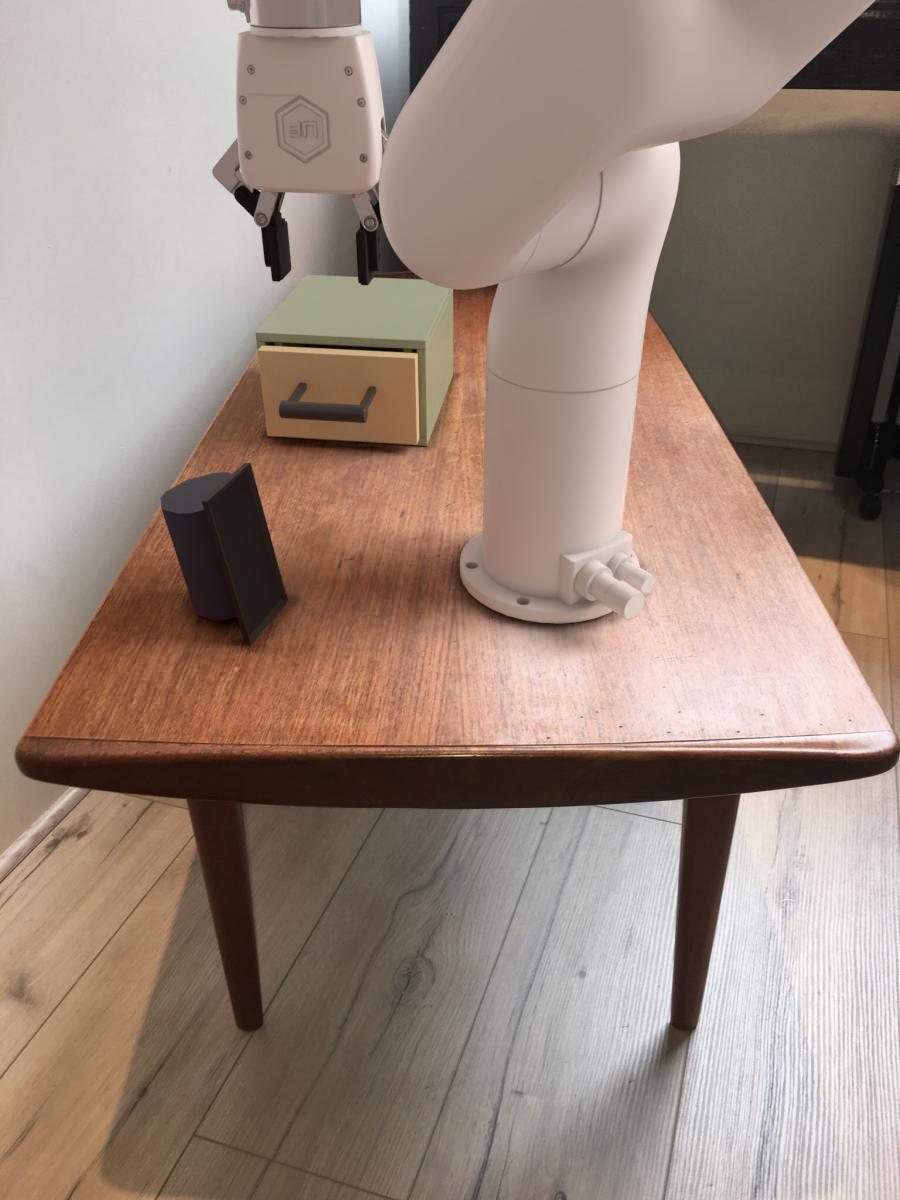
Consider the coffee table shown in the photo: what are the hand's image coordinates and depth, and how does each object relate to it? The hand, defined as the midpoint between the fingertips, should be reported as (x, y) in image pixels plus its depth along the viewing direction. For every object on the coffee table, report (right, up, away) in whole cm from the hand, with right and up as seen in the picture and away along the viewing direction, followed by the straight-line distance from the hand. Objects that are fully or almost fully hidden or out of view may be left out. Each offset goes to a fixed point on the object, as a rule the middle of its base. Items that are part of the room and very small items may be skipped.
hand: (324, 276), depth 77 cm
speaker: (-5, -26, -9) cm, 28 cm away
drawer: (+1, -8, +14) cm, 16 cm away
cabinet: (+2, -6, +18) cm, 19 cm away
